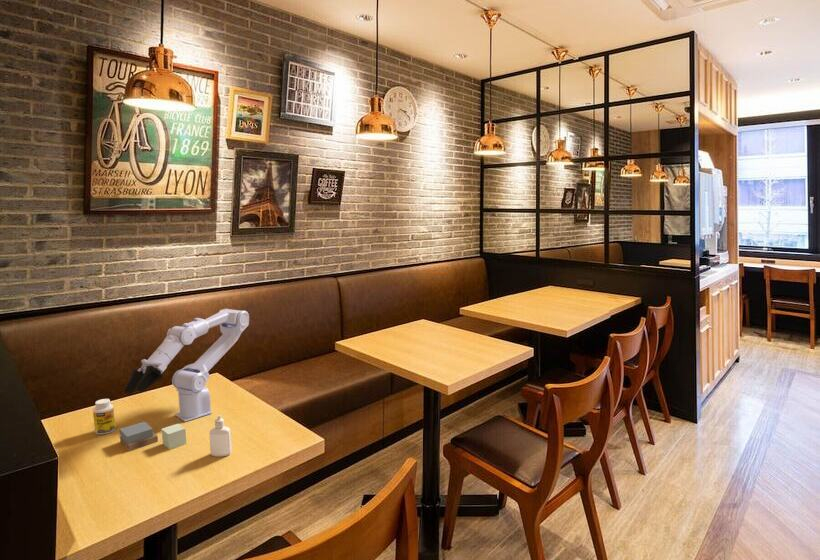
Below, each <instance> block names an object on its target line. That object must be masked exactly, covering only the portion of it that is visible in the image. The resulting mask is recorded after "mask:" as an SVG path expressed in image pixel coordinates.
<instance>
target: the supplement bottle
mask: <svg viewBox="0 0 820 560" xmlns="http://www.w3.org/2000/svg"><path fill="white" fill-rule="evenodd" d="M94 405H95V407H94V408H93V409H92V413H93V415H92V416H93V424H94V432H95V434H96V435H99V436H100V435H107V434H110V433H112V432H114V431H115V430H116V417H115V409H114V408H115V407H114V405H113V404H111V400H110V398H102V399H98V400H96V401H95V404H94Z"/></svg>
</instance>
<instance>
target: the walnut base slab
mask: <svg viewBox="0 0 820 560" xmlns="http://www.w3.org/2000/svg"><path fill="white" fill-rule="evenodd" d="M119 440H120V443H121V445H123V447H125V448H126V450H128V451H129V452H131V451H132V452H133V451H134V450H137V449H140V448H143V447H147V446H149V445H151V444H154V443H158V442H159V438H158V435H157V434H156V433H155V432H154V431H153V437H150V438H147V439H144V440H141V441H137V442H134V443H131V444H127V443H126V442H125V441H124V440H123V439H122V438H121V437H120V436H119Z"/></svg>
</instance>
